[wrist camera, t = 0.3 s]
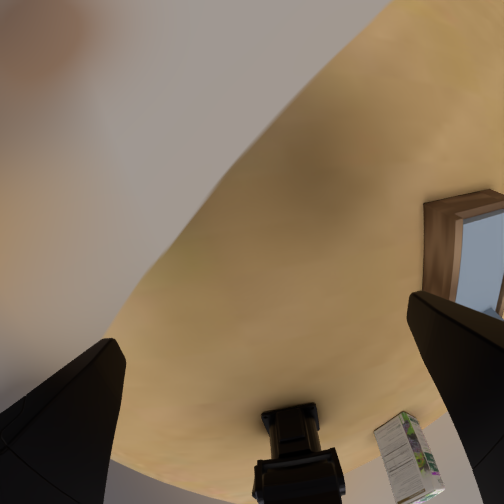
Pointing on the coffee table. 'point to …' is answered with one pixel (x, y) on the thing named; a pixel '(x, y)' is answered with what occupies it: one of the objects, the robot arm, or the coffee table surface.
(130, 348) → the coffee table surface
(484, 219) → the cover plate
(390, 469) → the syrup box
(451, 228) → the pencil box
